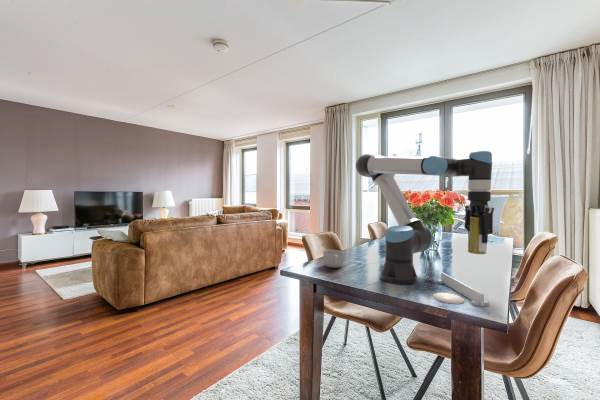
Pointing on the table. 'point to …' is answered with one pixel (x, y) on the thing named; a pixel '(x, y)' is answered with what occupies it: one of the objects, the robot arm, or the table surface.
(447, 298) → the coaster
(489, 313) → the table surface
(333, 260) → the teacup
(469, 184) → the robot arm
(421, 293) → the table surface
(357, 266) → the table surface
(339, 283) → the table surface
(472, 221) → the vase
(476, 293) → the acrylic wall
